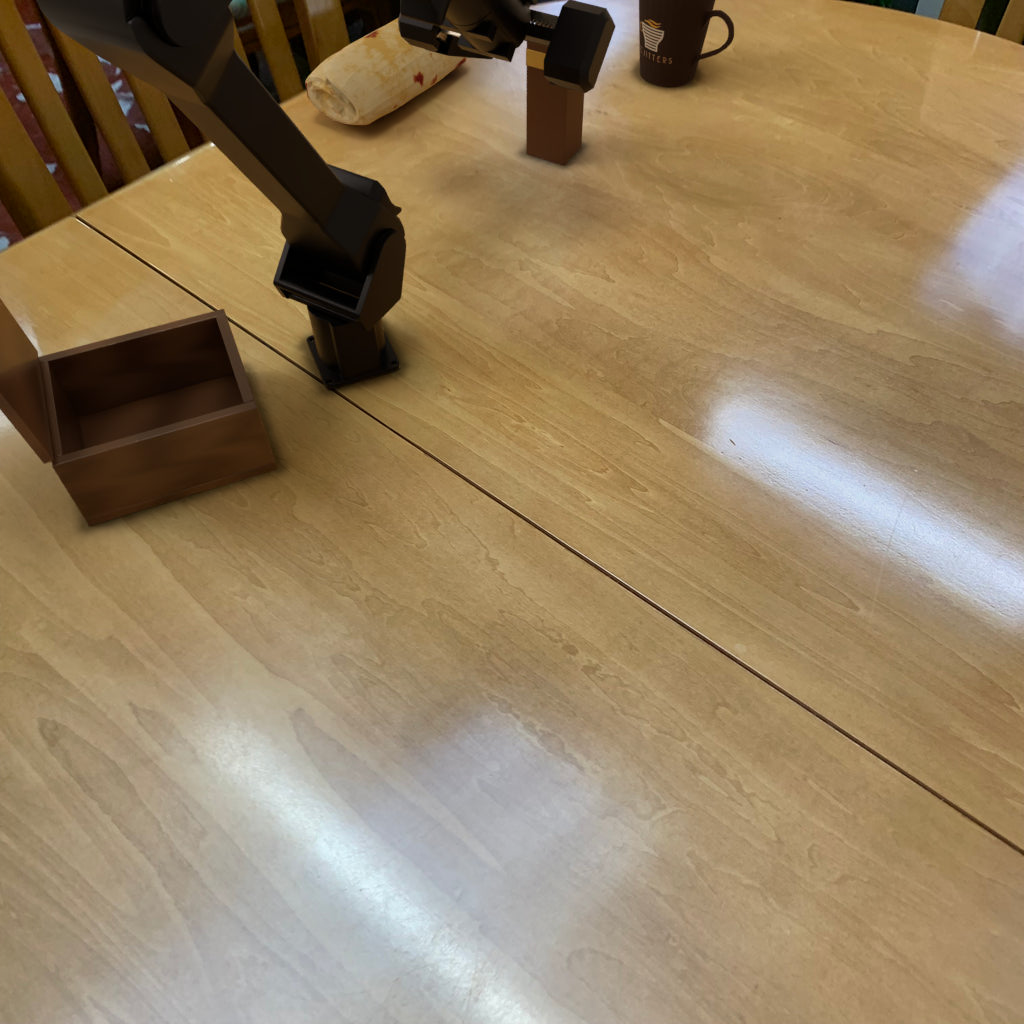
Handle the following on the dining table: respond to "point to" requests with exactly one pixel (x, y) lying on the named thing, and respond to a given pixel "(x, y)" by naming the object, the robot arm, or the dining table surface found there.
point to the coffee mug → (675, 39)
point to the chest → (152, 417)
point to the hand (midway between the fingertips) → (535, 65)
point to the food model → (375, 76)
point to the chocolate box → (550, 113)
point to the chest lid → (23, 386)
